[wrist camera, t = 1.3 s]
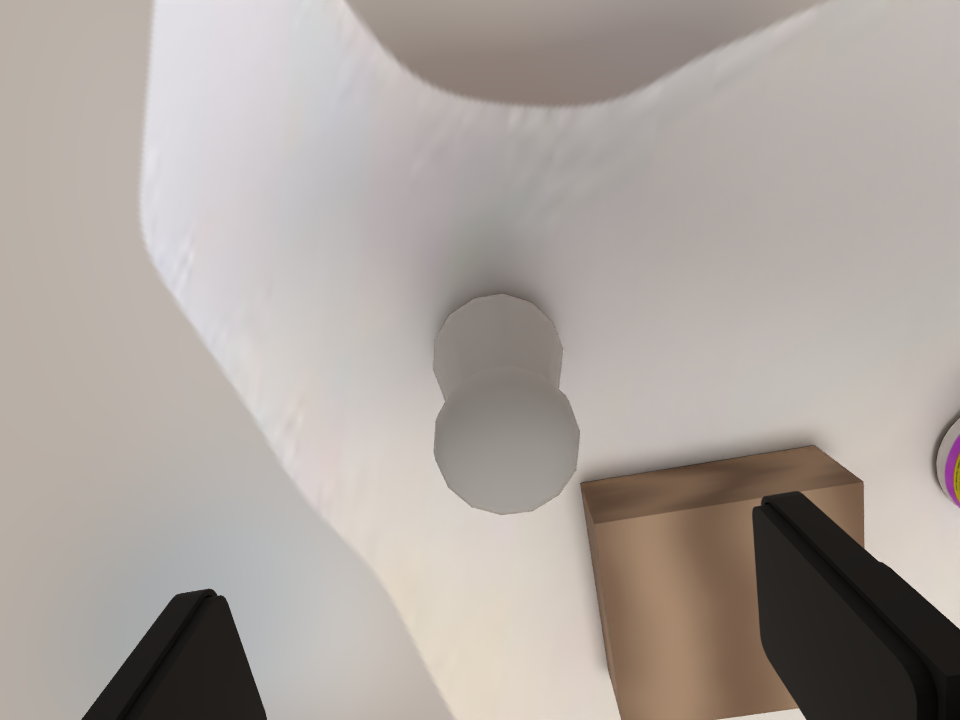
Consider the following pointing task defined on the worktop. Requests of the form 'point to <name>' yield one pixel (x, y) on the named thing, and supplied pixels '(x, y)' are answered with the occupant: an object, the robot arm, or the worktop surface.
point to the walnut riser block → (697, 579)
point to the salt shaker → (503, 406)
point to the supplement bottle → (950, 463)
